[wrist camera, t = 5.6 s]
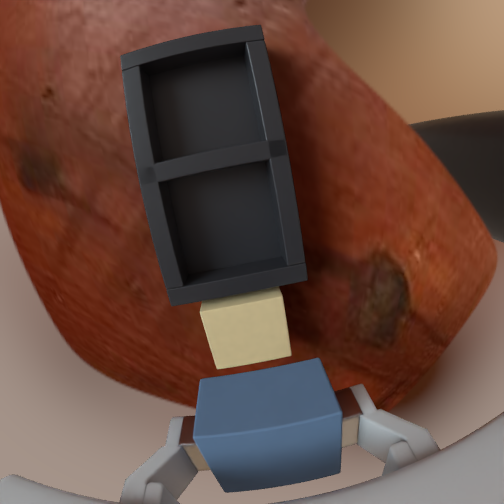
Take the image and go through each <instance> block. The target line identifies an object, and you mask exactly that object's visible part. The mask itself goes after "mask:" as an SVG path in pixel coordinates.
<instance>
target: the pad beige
mask: <svg viewBox="0 0 504 504" xmlns="http://www.w3.org/2000/svg"><path fill="white" fill-rule="evenodd" d="M200 314H201V318H202V321H203V325H204V328H205V331H206V335H207V338H208V341H209V345H210V348H211V351H212V354H213V358H214V361H215V364H216V367H217V369H223V368H229V367H235V366H241V365H247V364H252V363H258V362H263V361H268V360H273V359H278V358H283V357H287V356H291V355H292V353H291V346H290V340H289V333H288V327H287V320H286V314H285V307H284V301H283V296H282V293H281V291H280V289H279V286H277V287H273V288H268V289H263V290H258V291H252V292H247V293H242V294H237V295H232V296H226V297H221V298H216V299H210V300H205V301H202V305H201V310H200Z"/></svg>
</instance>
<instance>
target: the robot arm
mask: <svg viewBox="0 0 504 504" xmlns="http://www.w3.org/2000/svg"><path fill="white" fill-rule="evenodd" d="M334 393H335V395H336V397H337V400H338V402H339V405H340V407H341V409H342V412H343V419H342V448H343V447H347V446H350V445H354V444H358V445H359V446H360V447H362V448H363V449H365V450H366V451H368V452H369V453H371V454H372V455H374V456H375V457H377V458H378V459H380V460H381V461H383V462H384V463H386V464H385V467H384V470H383V474H382V476H380V477H377V478H374V479H371V480H368V481H365V482H362V483H359V484H356V485H353V486H350V487H346V488H342V489H339V490H335V491H332V492H327V493H323V494H319V495H315V496H310V497H305V498H300V499H295V500H290V501H284V502H277V503H271V504H504V412H502V413H501V414H500V415H498V416H497V417H495V418H494V419H493V420H491V421H489V422H488V423H486V424H485V425H484V426H482V427H480V428H479V429H477V430H475V431H474V432H472V433H470V434H469V435H467V436H465V437H464V438H462V439H460V440H458V441H457V442H455V443H453V444H451V445H449V446H447V447H446V448H444V449H442V450H440V449H439V447H438V445H437V444H436V442H435V441H434V439H433V438H432V436H431V434H430V433H429V431H428V430H427V429H426V428H423V427H421V426H418V425H416V424H414V423H411V422H409V421H407V420H404V419H402V418H400V417H397V416H395V415H393V414H390V413H388V412H386V411H384V410H382V409H379V410H377V409H376V407H375V405H374V403H373V402H372V400H371V398H370V396H369V394H368V393H367V391H366V389H365V387H364V385H363V384H358V385H355V386H352V387H349V388H345V389H342V390H338V391H334ZM194 423H195V416H184V417H173V418H172V419H171V422H170V426H169V431H168V436H167V440H166V445H165V447H161V448H160V449H159V450H158V451H157V452H156V453H154V454H153V455H152V456H151V457H150V458H149V459H148V460H147V461H146V462H145V463H143V464H142V465H141V466H140V467H139V468H138V469H137V470H136V471H135V472H134V473H132V474H131V475H130V476H129V477H128V478H127V479H126V480H125V484H124V487H123V491H122V495H121V498H120V502H112V501H107V500H101V499H96V498H92V497H87V496H82V495H78V494H74V493H70V492H66V491H63V490H60V489H56V488H53V487H49V486H46V485H43V484H40V483H37V482H34V481H32V480H29V479H26V478H23V477H21V476H18V475H14V474H12V475H9V476H6V477H5V478H3V479H1V480H0V504H180V503H179V502H178V501H177V499H178V498H179V497H180V495H181V494H182V493H183V491H184V490H185V489H186V487H187V486H188V485H189V484H190V482H191V481H192V480H193V478H194V477H195V475H196V474H197V473H198V471H204V470H211V469H210V467H209V466H208V464H207V462H206V461H205V459H204V457H203V455H202V454H201V452H200V450H199V448H198V447H197V445H196V443H195V441H194V439H193V431H194Z"/></svg>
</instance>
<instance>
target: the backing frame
mask: <svg viewBox="0 0 504 504" xmlns="http://www.w3.org/2000/svg"><path fill="white" fill-rule="evenodd" d="M121 67H122V76H123V85H124V93H125V101H126V108H127V115H128V122H129V128H130V134H131V140H132V146H133V152H134V157H135V163H136V168H137V173H138V178H139V183H140V188H141V192H142V197H143V201H144V206H145V210H146V215H147V219H148V223H149V227H150V231H151V235H152V239H153V243H154V247H155V251H156V255H157V258H158V262H159V266H160V269H161V273H162V276H163V280H164V283H165V287H166V289H167V294H168V297H169V300H170V303H171V306H176V305H182V304H188V303H193V302H199V301H205V300H210V299H216V298H221V297H226V296H232V295H237V294H242V293H247V292H252V291H258V290H263V289H268V288H273V287H277V286H282V285H287V284H292V283H297V282H301V281H306V280H308V276H307V268H306V263H305V255H304V247H303V240H302V233H301V227H300V220H299V213H298V207H297V201H296V194H295V188H294V182H293V177H292V171H291V165H290V159H289V154H288V148H287V143H286V138H285V132H284V127H283V122H282V117H281V112H280V107H279V102H278V98H277V93H276V88H275V84H274V79H273V75H272V70H271V66H270V61H269V57H268V53H267V49H266V44H265V41H264V35H263V31H262V27H261V25H254V26H245V27H238V28H230V29H224V30H218V31H212V32H207V33H202V34H197V35H192V36H187V37H183V38H179V39H175V40H171V41H167V42H163V43H159V44H156V45H152V46H149V47H146V48H142V49H139V50H136V51H133V52H130V53H127V54H124V55H121Z"/></svg>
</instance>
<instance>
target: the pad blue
mask: <svg viewBox="0 0 504 504" xmlns="http://www.w3.org/2000/svg"><path fill="white" fill-rule="evenodd" d="M342 419H343V412H342V409H341V407H340V405H339V402H338V400H337V397H336V395H335V393H334V390H333V388H332V386H331V383H330V381H329V379H328V376H327V374H326V372H325V369H324V367H323V365H322V362H321V360H320V358H314V359H310V360H306V361H301V362H297V363H292V364H287V365H283V366H278V367H273V368H267V369H262V370H256V371H251V372H245V373H239V374H232V375H226V376H219V377H211V378H203V379H201V380H200V385H199V392H198V400H197V407H196V415H195V423H194V431H193V439H194V441H195V443H196V445H197V447H198V448H199V450H200V452H201V454H202V455H203V457H204V459H205V461H206V462H207V464H208V466H209V467H210V469H211V471H212V472H213V474H214V475H215V477H216V479H217V481H218V482H219V484H220V485H221V487H222V489H223V490H224V492H227V493H228V492H239V491H249V490H258V489H265V488H273V487H278V486H284V485H291V484H295V483H301V482H305V481H310V480H314V479H319V478H323V477H327V476H331V475H335V474H338V473H340V469H341V452H342Z"/></svg>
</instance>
